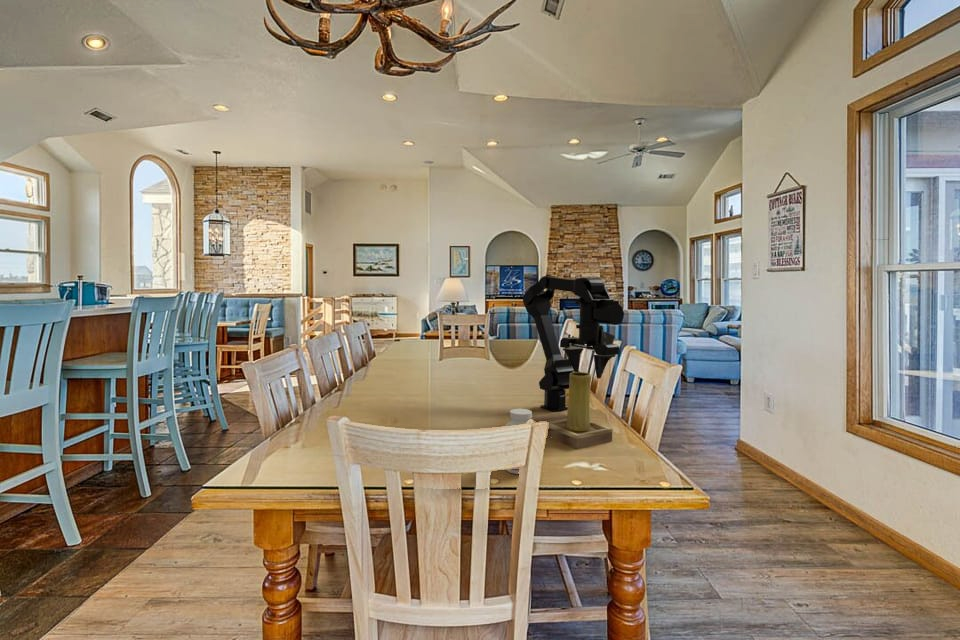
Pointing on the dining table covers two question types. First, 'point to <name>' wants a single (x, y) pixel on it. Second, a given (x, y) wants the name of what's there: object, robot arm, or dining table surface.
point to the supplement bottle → (518, 418)
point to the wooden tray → (574, 438)
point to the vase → (579, 402)
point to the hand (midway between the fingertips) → (587, 375)
